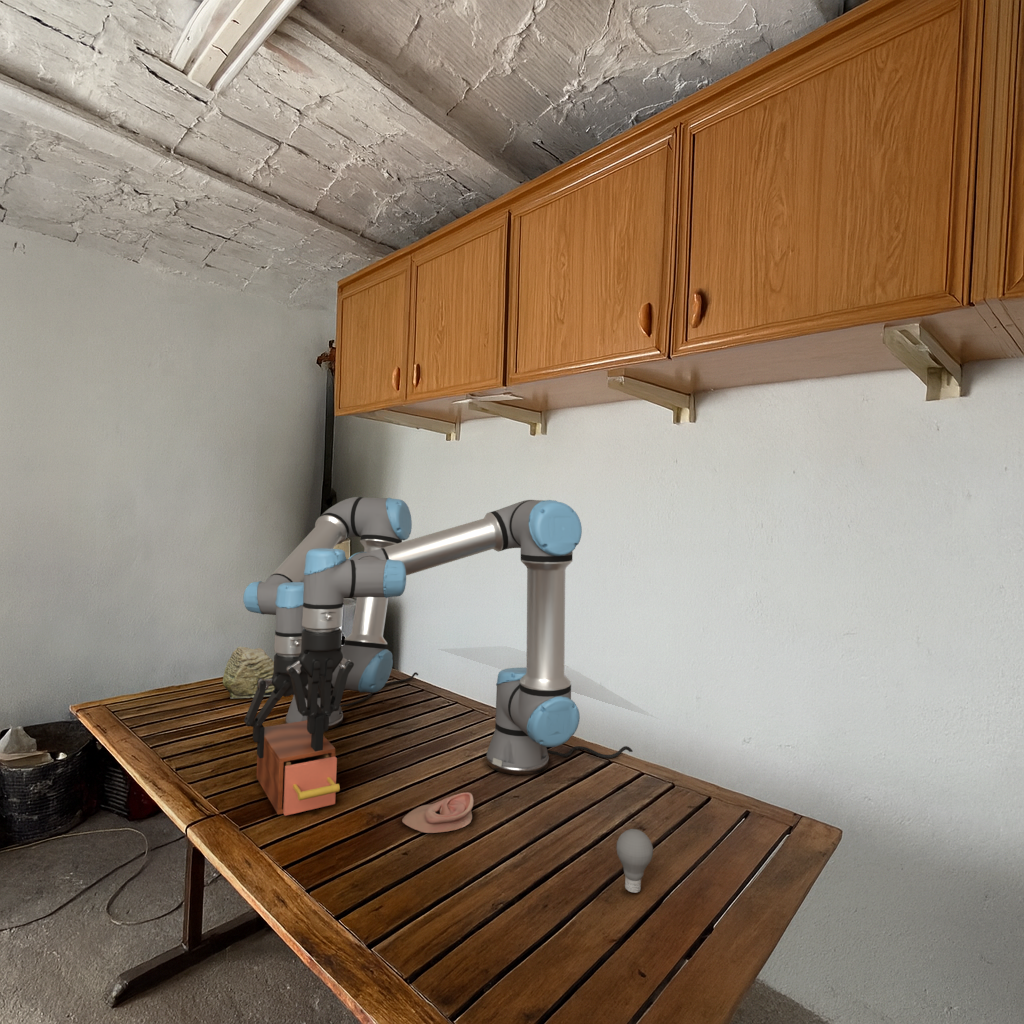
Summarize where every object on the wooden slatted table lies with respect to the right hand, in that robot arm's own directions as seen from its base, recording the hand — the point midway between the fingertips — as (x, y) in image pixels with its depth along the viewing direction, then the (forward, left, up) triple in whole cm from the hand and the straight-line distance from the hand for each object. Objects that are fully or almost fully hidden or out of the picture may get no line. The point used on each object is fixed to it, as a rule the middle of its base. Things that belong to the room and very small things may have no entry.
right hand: (316, 748), depth 124 cm
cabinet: (+3, -15, -14) cm, 21 cm away
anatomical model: (-23, +7, -14) cm, 28 cm away
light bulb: (-48, +39, -14) cm, 63 cm away
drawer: (+2, -9, -13) cm, 16 cm away
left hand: (+4, -20, -8) cm, 22 cm away
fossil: (+12, -84, -14) cm, 86 cm away
